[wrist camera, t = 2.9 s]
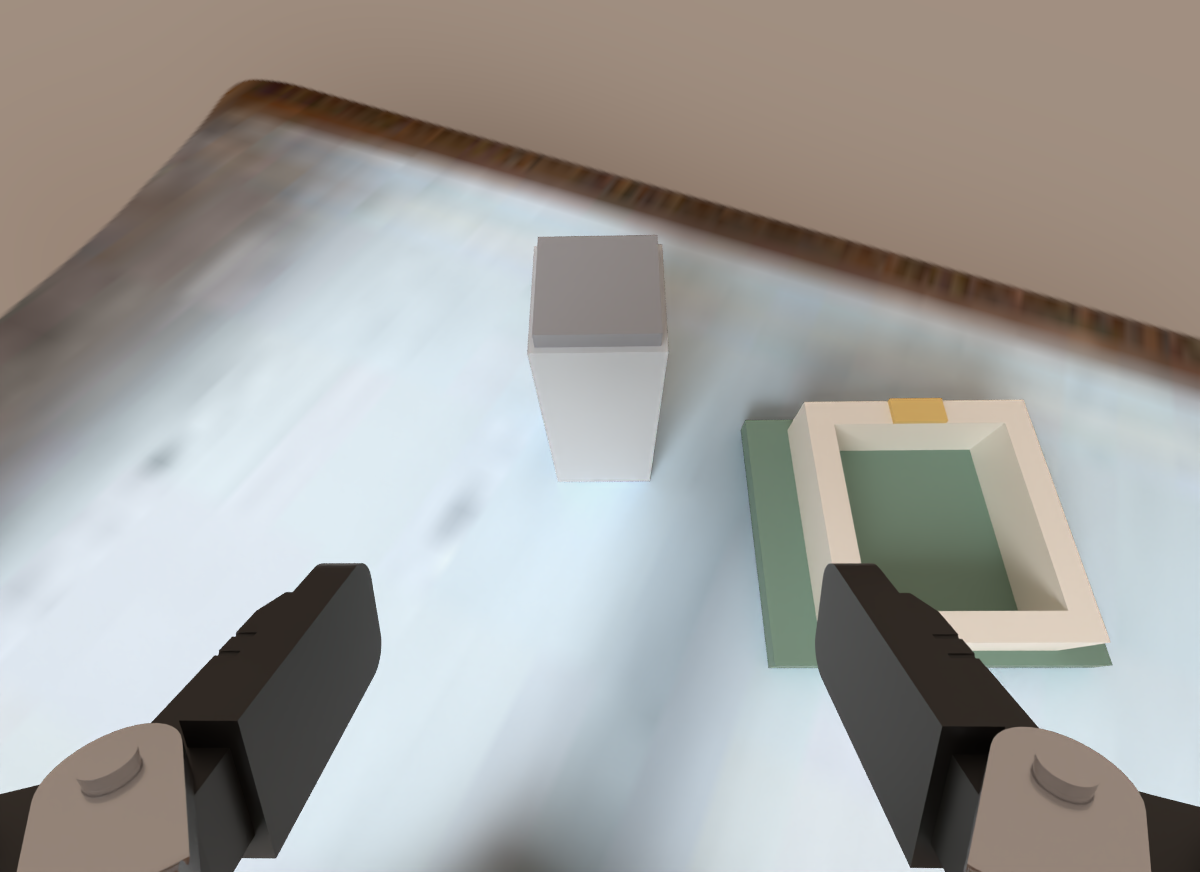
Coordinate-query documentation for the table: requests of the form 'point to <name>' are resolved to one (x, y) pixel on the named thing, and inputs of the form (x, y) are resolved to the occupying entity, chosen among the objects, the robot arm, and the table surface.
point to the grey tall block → (599, 353)
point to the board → (920, 525)
